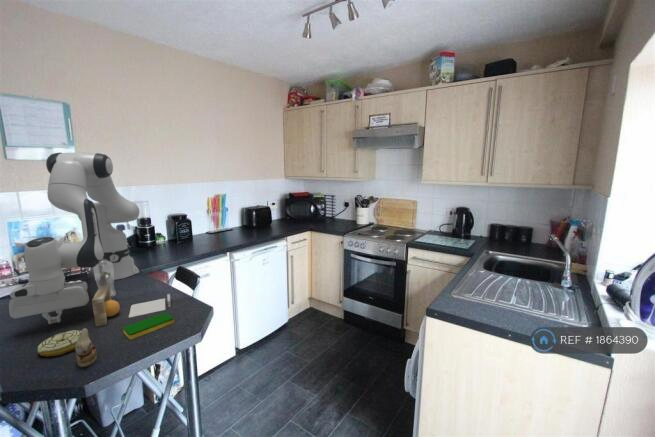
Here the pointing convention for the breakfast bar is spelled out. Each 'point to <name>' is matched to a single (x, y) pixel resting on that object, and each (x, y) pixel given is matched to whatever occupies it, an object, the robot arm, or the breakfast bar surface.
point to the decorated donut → (59, 343)
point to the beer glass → (105, 275)
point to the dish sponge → (148, 325)
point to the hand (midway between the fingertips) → (54, 322)
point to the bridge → (101, 304)
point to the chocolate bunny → (85, 350)
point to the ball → (111, 308)
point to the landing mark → (147, 307)
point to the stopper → (169, 300)
